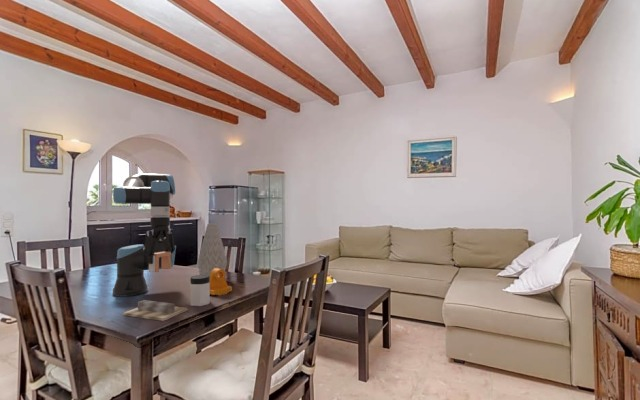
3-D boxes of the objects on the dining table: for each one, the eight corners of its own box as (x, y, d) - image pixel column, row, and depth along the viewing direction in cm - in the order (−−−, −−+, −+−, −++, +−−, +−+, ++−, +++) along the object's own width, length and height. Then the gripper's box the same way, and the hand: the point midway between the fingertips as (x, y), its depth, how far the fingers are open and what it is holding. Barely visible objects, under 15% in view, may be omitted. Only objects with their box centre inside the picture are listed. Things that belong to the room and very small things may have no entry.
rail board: (123, 315, 132) (123, 305, 132) (149, 305, 144) (149, 296, 144) (163, 320, 126) (163, 310, 126) (187, 310, 138) (187, 300, 138)
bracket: (213, 296, 158) (213, 271, 158) (205, 294, 163) (205, 269, 163) (232, 292, 166) (232, 268, 166) (225, 289, 171) (225, 266, 171)
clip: (149, 271, 139) (149, 253, 139) (163, 268, 147) (163, 251, 147) (156, 272, 138) (156, 254, 138) (170, 268, 145) (170, 251, 146)
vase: (222, 285, 179) (222, 224, 180) (192, 285, 180) (192, 224, 180) (231, 278, 196) (231, 222, 196) (203, 278, 196) (203, 222, 197)
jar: (204, 299, 154) (204, 273, 154) (214, 302, 148) (214, 276, 148) (186, 304, 147) (186, 276, 147) (195, 307, 141) (195, 279, 142)
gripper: (147, 217, 132) (147, 274, 131) (184, 216, 152) (184, 266, 151) (133, 217, 134) (132, 273, 133) (170, 216, 154) (170, 265, 153)
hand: (160, 269), depth 142 cm, fingers closed on clip, 8 cm apart
